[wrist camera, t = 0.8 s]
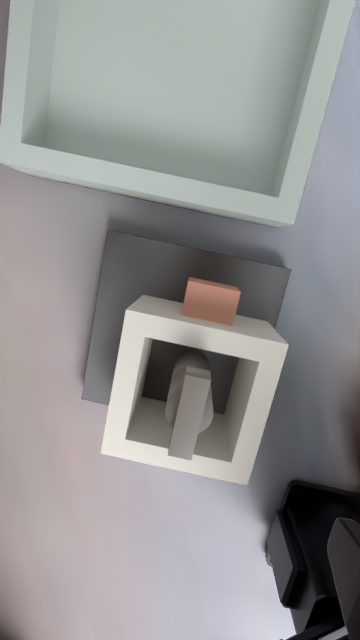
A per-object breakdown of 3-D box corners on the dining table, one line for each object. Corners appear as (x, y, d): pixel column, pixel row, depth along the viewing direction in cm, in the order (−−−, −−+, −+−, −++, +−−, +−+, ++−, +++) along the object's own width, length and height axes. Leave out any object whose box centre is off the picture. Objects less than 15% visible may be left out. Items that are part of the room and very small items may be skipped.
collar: (275, 293, 18) (299, 307, 14) (236, 433, 20) (247, 485, 15) (148, 265, 18) (132, 271, 14) (122, 408, 20) (100, 453, 16)
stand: (286, 268, 19) (337, 280, 12) (242, 426, 21) (264, 513, 14) (112, 230, 19) (62, 221, 12) (86, 392, 21) (32, 462, 14)
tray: (361, -84, 15) (400, -164, 12) (278, 228, 18) (294, 224, 15) (61, -146, 15) (29, -239, 12) (29, 175, 18) (-3, 161, 15)
